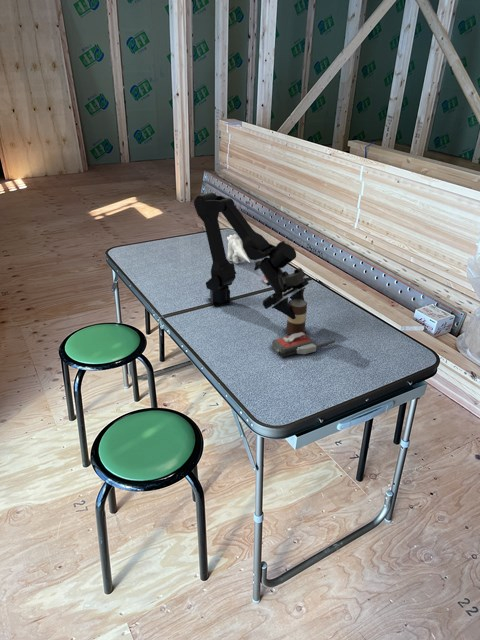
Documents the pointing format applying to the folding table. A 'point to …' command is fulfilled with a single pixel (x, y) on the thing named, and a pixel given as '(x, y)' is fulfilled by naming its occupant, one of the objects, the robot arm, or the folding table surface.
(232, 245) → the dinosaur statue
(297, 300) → the coffee can
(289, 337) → the walkie-talkie
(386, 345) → the folding table surface
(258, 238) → the robot arm
